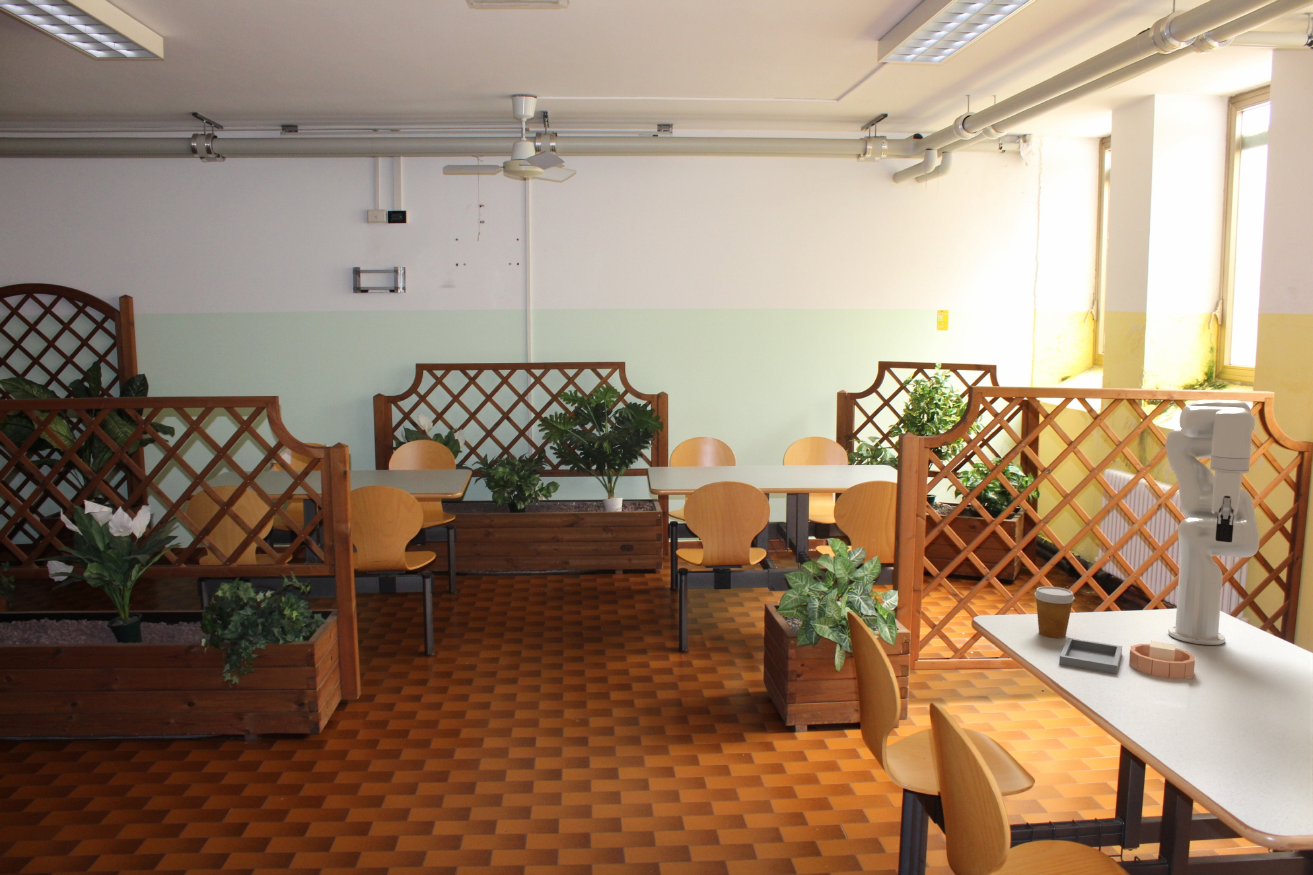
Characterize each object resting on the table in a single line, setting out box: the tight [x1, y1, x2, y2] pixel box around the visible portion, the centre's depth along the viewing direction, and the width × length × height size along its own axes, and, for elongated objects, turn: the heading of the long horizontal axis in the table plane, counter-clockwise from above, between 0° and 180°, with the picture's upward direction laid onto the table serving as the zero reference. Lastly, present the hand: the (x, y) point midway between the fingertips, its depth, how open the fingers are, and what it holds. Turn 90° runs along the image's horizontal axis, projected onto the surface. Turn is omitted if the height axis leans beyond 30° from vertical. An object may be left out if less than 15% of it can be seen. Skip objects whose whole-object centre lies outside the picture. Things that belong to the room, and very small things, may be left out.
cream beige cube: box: [1149, 640, 1176, 661], centre depth 207 cm, size 5×5×5 cm
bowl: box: [1128, 643, 1196, 680], centre depth 207 cm, size 13×13×4 cm
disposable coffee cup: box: [1034, 586, 1076, 639], centre depth 230 cm, size 10×10×12 cm
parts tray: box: [1058, 637, 1123, 675], centre depth 212 cm, size 16×12×2 cm
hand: (1223, 537), depth 206 cm, fingers open, 9 cm apart
